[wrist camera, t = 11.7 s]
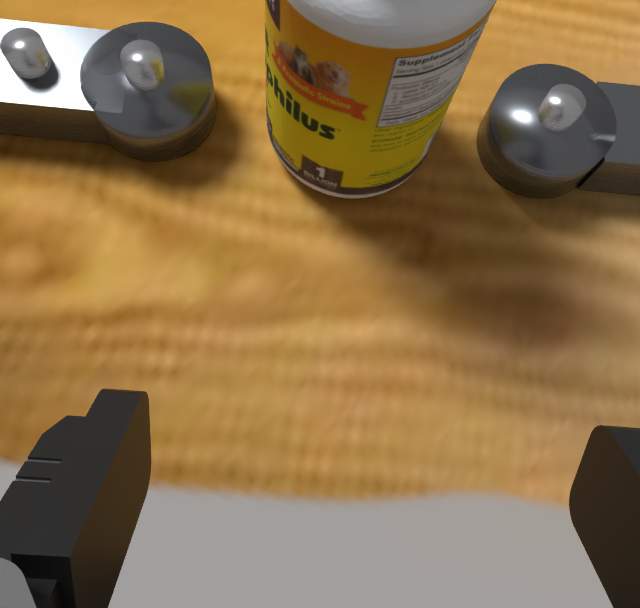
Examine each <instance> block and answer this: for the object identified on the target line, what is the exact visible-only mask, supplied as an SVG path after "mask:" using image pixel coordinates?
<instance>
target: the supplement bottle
mask: <svg viewBox="0 0 640 608" xmlns="http://www.w3.org/2000/svg"><path fill="white" fill-rule="evenodd" d="M495 3H496V0H265V45H266V112H267V126H268V133H269V137H270V141H271V144H272V146H273V149H274V151H275V153H276V154H277V156H278V158H279V160H280V161H281V162H282V164H283V165H284V166H285V167H286V169H287V170H288V171H289V172H290V173H291V174H292V175H294V176H295V177H296V178H297V179H298V180H300V181H301V182H302V183H304V184H306V185H307V186H309V187H311V188H313V189H315V190H317V191H320V192H322V193H325V194H328V195H331V196H335V197H341V198H366V197H371V196H375V195H379V194H382V193H385V192H387V191H390V190H392V189H394V188H395V187H397V186H399V185H401V184H402V183H403V182H405V181H406V180H407V179H408V178H409V177H410V176H412V175H413V174H414V172H415V171H416V170H417V169H418V168H419V166H420V165H421V163H422V162H423V160H424V158H425V157H426V155H427V152H428V150H429V148H430V146H431V144H432V142H433V140H434V137H435V135H436V133H437V131H438V129H439V127H440V125H441V122H442V120H443V117H444V115H445V113H446V111H447V109H448V106H449V104H450V102H451V100H452V97H453V95H454V93H455V91H456V89H457V87H458V84H459V82H460V80H461V78H462V76H463V73H464V71H465V69H466V67H467V64H468V62H469V60H470V58H471V56H472V53H473V51H474V49H475V47H476V45H477V42H478V40H479V38H480V36H481V34H482V31H483V29H484V27H485V25H486V23H487V21H488V19H489V16H490V13H491V11H492V9H493V7H494V5H495Z"/></svg>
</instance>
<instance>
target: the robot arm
mask: <svg viewBox="0 0 640 608" xmlns="http://www.w3.org/2000/svg"><path fill="white" fill-rule="evenodd" d="M150 472H151V442H150V419H149V399H148V395H147V392H144V391H130V390H116V389H102V390H101V391H100V392H99V393H98V395H97V397H96V399H95V401H94V402H93V404H92V406H91V408H90V410H89V411H88V413H87V415H86V417H82V416H66V417H64V418H63V419H62V420H60V421H59V422H58V423H56V424H55V425H54V426H52V427H51V428H50V429H48V430H47V431H46V432H45V433H43V434H42V436H41V437H40V439H39V440H38V442H37V444H36V445H35V447H34V448H33V450H32V451H31V453H30V455H29V456H28V461H27V462H26V461H25V463H24V464H23V466H22V467H21V469H20V471H19V472H18V474H17V475H16V480H15V481H13V482H12V483H11V485H10V486H9V488H8V490H7V491H6V493H5V494H4V496H3V498H2V499H1V501H0V608H108V605H109V602H110V600H111V597H112V594H113V591H114V588H115V585H116V582H117V579H118V576H119V573H120V570H121V567H122V565H123V561H124V559H125V556H126V553H127V550H128V547H129V544H130V541H131V538H132V535H133V532H134V530H135V527H136V524H137V521H138V518H139V515H140V512H141V509H142V506H143V503H144V500H145V497H146V494H147V490H148V486H149V480H150ZM569 507H570V515H571V519H572V522H573V525H574V527H575V529H576V531H577V533H578V536H579V537H580V540H581V542H582V544H583V546H584V548H585V550H586V552H587V554H588V556H589V558H590V560H591V562H592V564H593V566H594V569H595V570H596V573H597V575H598V577H599V579H600V581H601V583H602V585H603V587H604V589H605V591H606V593H607V595H608V597H609V599H610V601H611V603H612V605H613V608H640V428H630V427H616V426H602V425H600V426H597V427H595V428H594V430H593V431H592V433H591V435H590V437H589V440H588V443H587V446H586V449H585V451H584V454H583V457H582V460H581V462H580V465H579V468H578V471H577V474H576V476H575V479H574V482H573V485H572V488H571V491H570V498H569Z"/></svg>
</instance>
